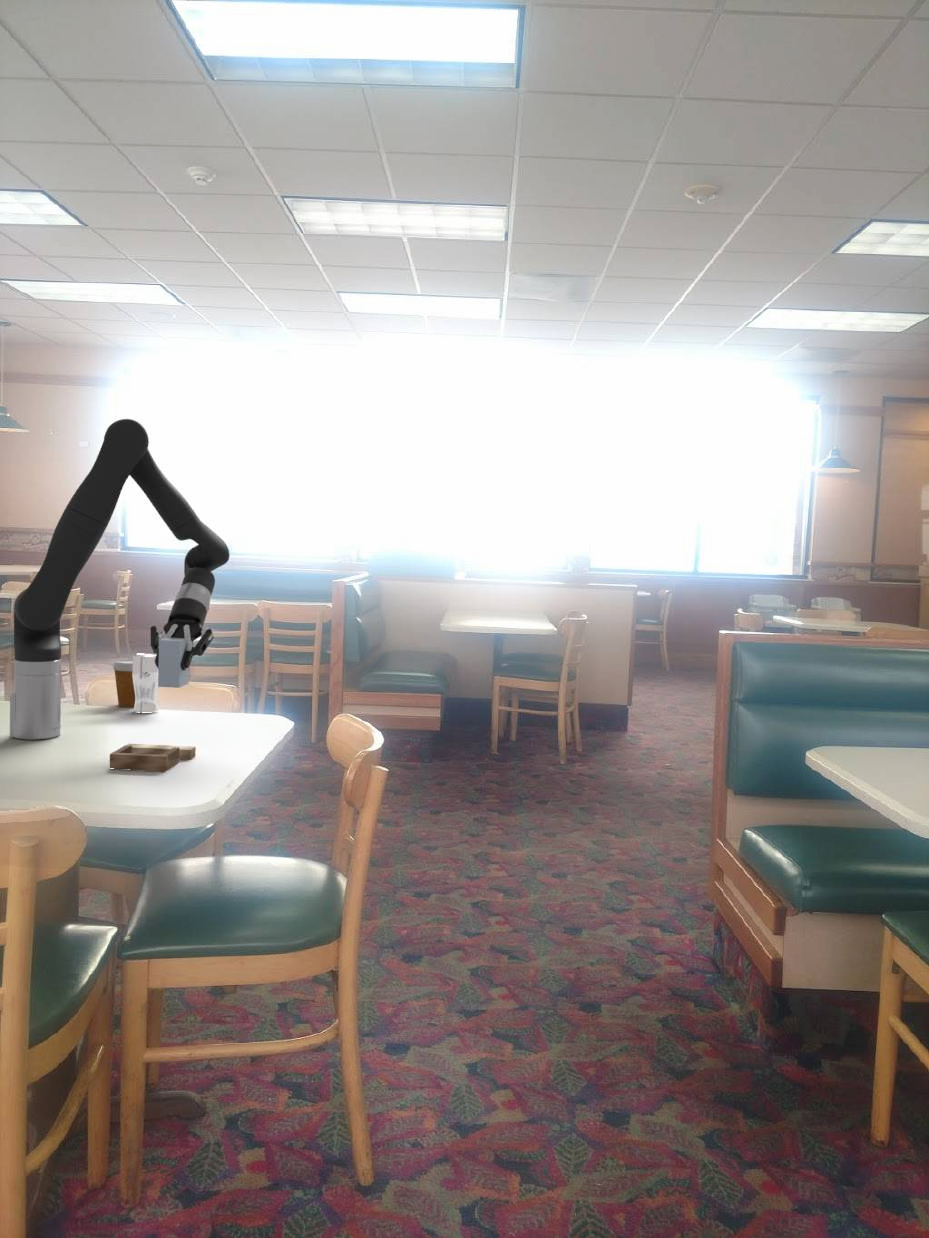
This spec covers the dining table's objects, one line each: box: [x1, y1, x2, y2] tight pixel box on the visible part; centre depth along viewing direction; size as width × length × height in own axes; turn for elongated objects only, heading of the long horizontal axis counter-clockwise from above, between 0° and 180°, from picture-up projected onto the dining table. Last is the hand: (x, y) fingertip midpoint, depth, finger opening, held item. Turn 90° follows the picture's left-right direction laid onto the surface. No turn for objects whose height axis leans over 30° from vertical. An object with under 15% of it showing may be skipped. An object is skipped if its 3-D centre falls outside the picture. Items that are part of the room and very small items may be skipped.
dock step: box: [126, 743, 196, 760], centre depth 172 cm, size 14×3×2 cm, turn 90°
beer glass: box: [132, 653, 159, 713], centre depth 216 cm, size 7×7×15 cm
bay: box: [109, 744, 180, 772], centre depth 164 cm, size 11×8×3 cm
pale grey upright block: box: [158, 638, 190, 689], centre depth 179 cm, size 4×6×10 cm
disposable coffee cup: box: [112, 658, 135, 708], centre depth 225 cm, size 10×10×12 cm
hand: (170, 667), depth 177 cm, fingers closed on pale grey upright block, 4 cm apart
